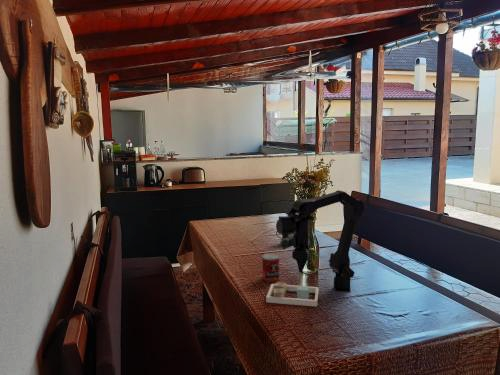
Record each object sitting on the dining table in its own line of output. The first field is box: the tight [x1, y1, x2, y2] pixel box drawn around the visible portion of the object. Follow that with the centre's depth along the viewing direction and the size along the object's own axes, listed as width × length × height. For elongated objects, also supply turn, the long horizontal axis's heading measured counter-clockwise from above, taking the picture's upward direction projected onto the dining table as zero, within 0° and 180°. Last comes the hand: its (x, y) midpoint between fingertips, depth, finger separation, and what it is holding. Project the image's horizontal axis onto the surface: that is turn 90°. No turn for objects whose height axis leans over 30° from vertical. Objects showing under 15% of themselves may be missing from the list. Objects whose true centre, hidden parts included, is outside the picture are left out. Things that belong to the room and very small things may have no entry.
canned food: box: [262, 253, 280, 283], centre depth 188 cm, size 8×8×11 cm
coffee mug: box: [275, 230, 295, 240], centre depth 245 cm, size 12×9×10 cm
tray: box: [265, 283, 319, 307], centre depth 169 cm, size 20×14×2 cm
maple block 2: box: [273, 289, 285, 298], centre depth 167 cm, size 4×4×4 cm
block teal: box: [296, 284, 310, 299], centre depth 168 cm, size 4×4×4 cm
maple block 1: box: [275, 281, 288, 296], centre depth 173 cm, size 4×4×4 cm
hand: (301, 268), depth 169 cm, fingers open, 9 cm apart
